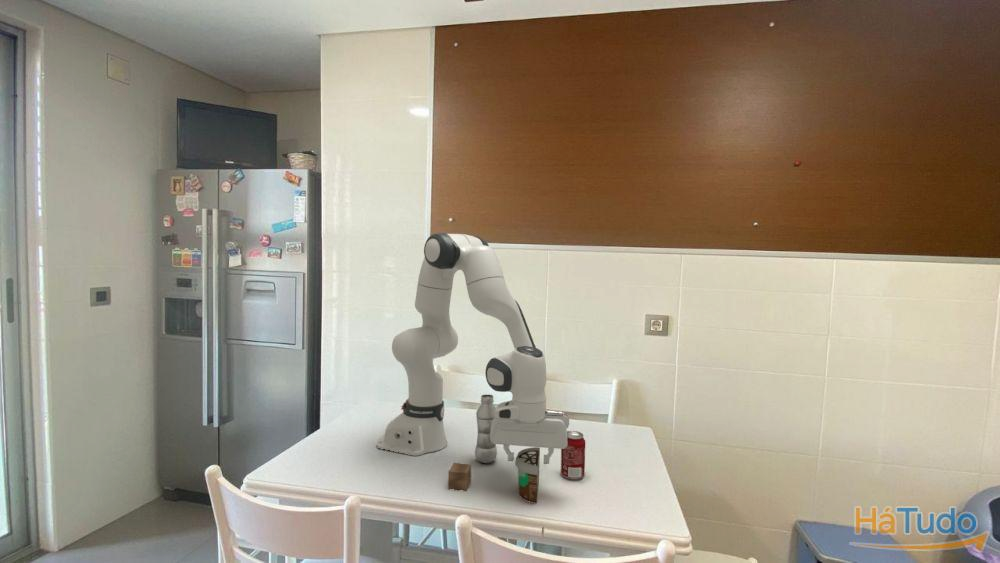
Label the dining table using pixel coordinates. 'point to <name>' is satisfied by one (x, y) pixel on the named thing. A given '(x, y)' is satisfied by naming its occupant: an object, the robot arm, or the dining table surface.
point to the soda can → (573, 456)
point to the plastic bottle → (485, 430)
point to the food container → (528, 473)
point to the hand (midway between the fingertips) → (528, 461)
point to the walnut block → (459, 476)
